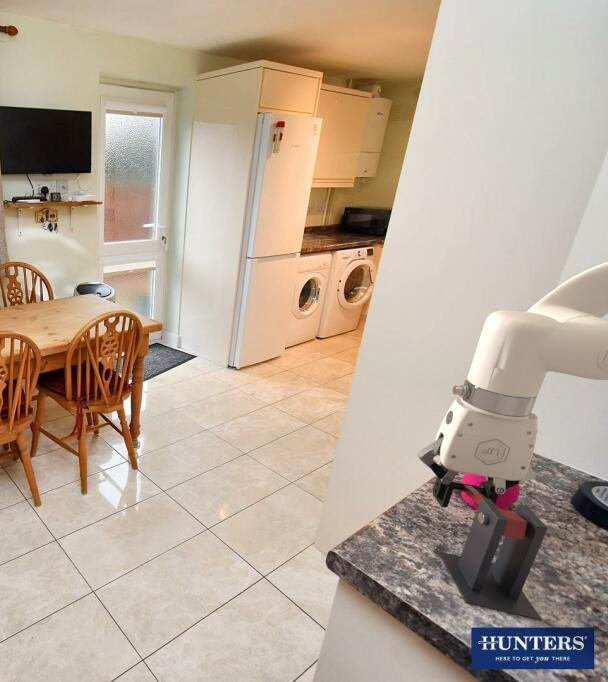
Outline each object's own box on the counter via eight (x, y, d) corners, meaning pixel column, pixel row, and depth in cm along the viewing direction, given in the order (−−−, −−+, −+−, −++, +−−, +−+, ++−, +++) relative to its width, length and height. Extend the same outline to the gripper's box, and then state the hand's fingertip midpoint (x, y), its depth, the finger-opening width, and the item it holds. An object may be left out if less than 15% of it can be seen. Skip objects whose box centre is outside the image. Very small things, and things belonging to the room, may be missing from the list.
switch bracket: (436, 557, 66) (460, 484, 62) (501, 571, 63) (530, 496, 59) (463, 608, 58) (493, 528, 54) (539, 626, 55) (576, 544, 51)
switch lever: (445, 490, 69) (448, 475, 69) (479, 496, 68) (482, 481, 67) (491, 533, 56) (495, 515, 56) (535, 542, 55) (539, 524, 55)
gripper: (437, 400, 62) (405, 509, 67) (591, 420, 57) (542, 535, 63) (418, 380, 68) (390, 480, 74) (554, 396, 64) (513, 502, 69)
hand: (460, 504), depth 68 cm, fingers closed on switch lever, 4 cm apart
